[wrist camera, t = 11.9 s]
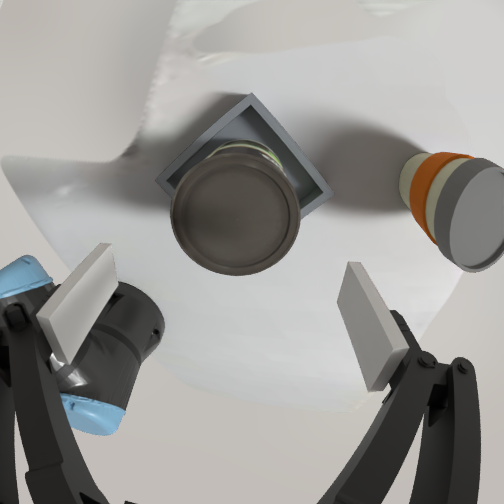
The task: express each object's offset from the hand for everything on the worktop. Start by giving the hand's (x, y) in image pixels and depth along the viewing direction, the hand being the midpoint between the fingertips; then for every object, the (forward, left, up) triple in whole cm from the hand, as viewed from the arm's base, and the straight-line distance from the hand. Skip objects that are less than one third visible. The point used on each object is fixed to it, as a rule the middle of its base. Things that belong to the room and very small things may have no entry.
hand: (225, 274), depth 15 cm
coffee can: (0, 0, -22) cm, 22 cm away
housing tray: (0, 0, -23) cm, 23 cm away
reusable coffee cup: (+20, -16, -23) cm, 35 cm away
